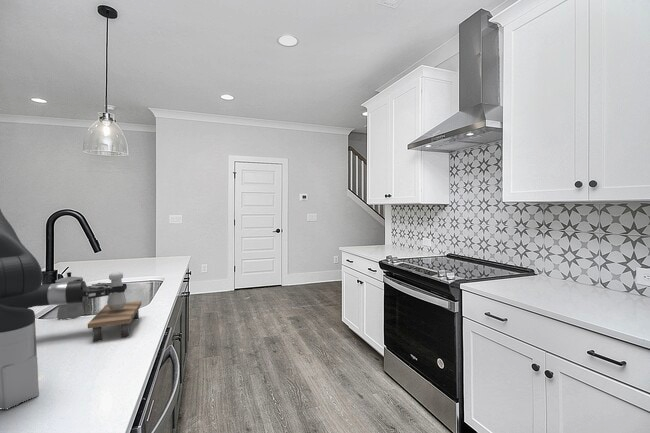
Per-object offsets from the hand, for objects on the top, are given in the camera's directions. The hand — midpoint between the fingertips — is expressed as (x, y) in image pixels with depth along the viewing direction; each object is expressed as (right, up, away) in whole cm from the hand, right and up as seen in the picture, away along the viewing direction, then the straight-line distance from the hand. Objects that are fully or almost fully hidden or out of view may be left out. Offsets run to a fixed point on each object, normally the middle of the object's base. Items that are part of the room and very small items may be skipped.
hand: (125, 287), depth 119 cm
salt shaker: (-3, -7, -1) cm, 8 cm away
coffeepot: (-30, -15, +14) cm, 36 cm away
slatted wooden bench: (-2, -15, -1) cm, 15 cm away
